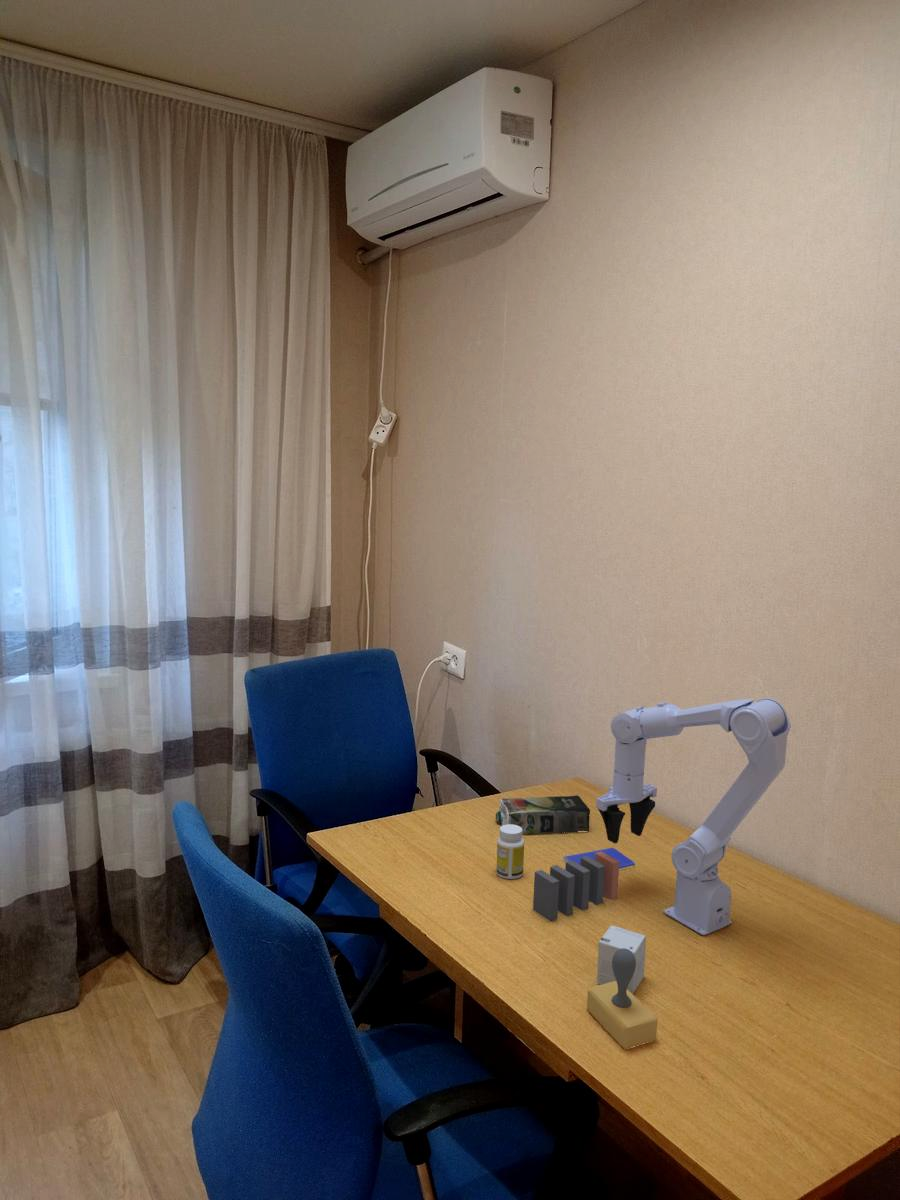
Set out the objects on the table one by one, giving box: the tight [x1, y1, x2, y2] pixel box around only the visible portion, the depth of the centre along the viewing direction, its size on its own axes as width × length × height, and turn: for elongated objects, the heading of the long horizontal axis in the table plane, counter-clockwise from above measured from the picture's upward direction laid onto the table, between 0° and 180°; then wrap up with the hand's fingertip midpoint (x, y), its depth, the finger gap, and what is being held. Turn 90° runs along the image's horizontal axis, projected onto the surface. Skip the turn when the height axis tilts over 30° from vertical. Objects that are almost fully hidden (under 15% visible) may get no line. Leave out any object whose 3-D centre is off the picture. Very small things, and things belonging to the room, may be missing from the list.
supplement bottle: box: [495, 824, 525, 880], centre depth 170 cm, size 6×5×10 cm
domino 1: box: [532, 869, 559, 922], centre depth 155 cm, size 2×5×8 cm, turn 34°
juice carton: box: [495, 794, 591, 836], centre depth 194 cm, size 20×10×6 cm, turn 99°
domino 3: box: [564, 860, 590, 912], centre depth 159 cm, size 2×5×8 cm, turn 34°
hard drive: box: [562, 847, 636, 869], centre depth 176 cm, size 2×8×12 cm
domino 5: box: [595, 851, 620, 901], centre depth 163 cm, size 2×5×8 cm, turn 34°
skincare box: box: [596, 925, 647, 995], centre depth 135 cm, size 6×6×7 cm
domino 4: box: [580, 856, 605, 906], centre depth 161 cm, size 2×5×8 cm, turn 34°
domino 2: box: [549, 864, 575, 917], centre depth 157 cm, size 2×5×8 cm, turn 34°
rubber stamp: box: [586, 948, 658, 1050], centre depth 124 cm, size 10×6×12 cm, turn 24°
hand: (624, 837), depth 164 cm, fingers open, 6 cm apart
